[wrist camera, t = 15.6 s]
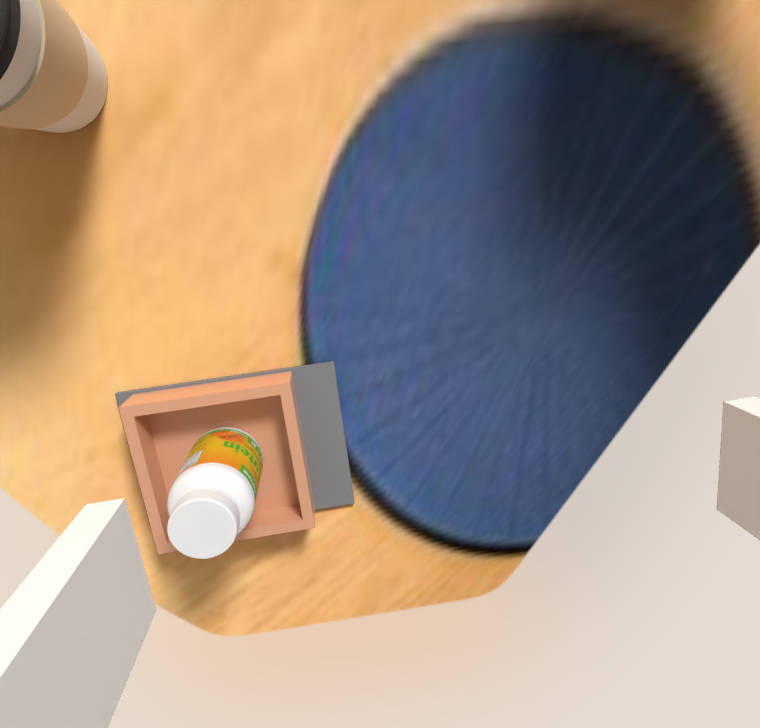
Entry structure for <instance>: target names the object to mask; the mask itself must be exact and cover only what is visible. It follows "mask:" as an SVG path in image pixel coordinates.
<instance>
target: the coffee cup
mask: <svg viewBox="0 0 760 728" xmlns="http://www.w3.org/2000/svg"><path fill="white" fill-rule="evenodd" d="M107 90H108V80H107V73H106V68H105V65H104V62H103V60H102V58H101V55H100V54H99V52H98V50H97V49H96V47H95V46H94V44H93V43H92V42H91V40H90V39H89V38H88V37H87V36H86V35H85V34H84V33H83V32H82V31H81V30H80V28H79V27H78V26H77V25H76V24H75V22H74V21H73V19H72V18H71V16H70V15H69V14H68V12H67V11H66V10H65V9H64V8H63V7H62V6H61V4H60V3H59V2H58V1H57V0H0V126H2V127H9V128H16V129H35V130H40V131H46V132H52V133H67V132H72V131H76V130H79V129H81V128H83V127H85V126H86V125H88V124H89V123H91V122H92V121H93V120H94V119H95V118H96V117H97V116H98V114H99V113H100V111H101V110H102V108H103V105H104V103H105V100H106V96H107Z"/></svg>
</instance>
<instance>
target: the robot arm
mask: <svg viewBox="0 0 760 728" xmlns="http://www.w3.org/2000/svg"><path fill="white" fill-rule="evenodd" d="M717 510H718V511H720V512H721V513H723V514H724V515H725V516H727V517H728V518H730V519H731V520H732V521H734V522H735V523H737V524H738V525H739V526H741V527H742V528H744V529H745V530H746V531H748V532H749V533H751V534H752V535H754V536H755V537H756V538H758V539H759V540H760V398H758V397H755V396H754V397H748V398H742V399H736V400H729V401H724V402H723V417H722V433H721V449H720V466H719V483H718V497H717ZM155 612H156V607H155V604H154V600H153V597H152V593H151V590H150V586H149V583H148V579H147V575H146V572H145V568H144V565H143V561H142V558H141V554H140V551H139V547H138V543H137V540H136V536H135V533H134V529H133V526H132V522H131V518H130V515H129V511H128V508H127V504H126V501H125V498H123V499H117V500H110V501H104V502H98V503H92V504H86V505H85V506H84V508H83V509H82V510H81V511H80V513H79V514H78V515H77V516H76V517H75V519H74V520H73V521H72V522H71V524H70V525H69V526H68V527H67V528H66V530H65V531H64V532H63V533H62V535H61V536H60V537H59V538H58V540H57V541H56V542H55V543H54V544H53V546H52V547H51V548H50V549H49V550H48V552H47V553H46V554H45V555H44V557H43V558H42V559H41V560H40V562H39V563H38V564H37V565H36V566H35V568H34V569H33V570H32V571H31V573H30V574H29V575H28V576H27V577H26V579H25V580H24V581H23V583H22V584H21V585H20V586H19V587H18V589H17V590H16V591H15V592H14V594H13V595H12V596H11V597H10V598H9V599H8V601H7V602H6V603H5V604H4V606H3V607H2V608H1V609H0V728H108V726H109V723H110V721H111V719H112V716H113V714H114V711H115V708H116V706H117V704H118V702H119V699H120V697H121V694H122V692H123V689H124V687H125V684H126V682H127V680H128V677H129V675H130V672H131V670H132V668H133V665H134V663H135V660H136V658H137V655H138V653H139V651H140V648H141V646H142V643H143V641H144V638H145V636H146V633H147V631H148V629H149V626H150V624H151V622H152V619H153V617H154V614H155Z"/></svg>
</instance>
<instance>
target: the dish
mask: <svg viewBox="0 0 760 728" xmlns="http://www.w3.org/2000/svg"><path fill="white" fill-rule="evenodd" d="M119 411H120V415H121V418H122V422H123V426H124V429H125V433H126V437H127V440H128V444H129V448H130V452H131V455H132V459H133V463H134V466H135V470H136V474H137V478H138V481H139V485H140V489H141V492H142V496H143V500H144V504H145V507H146V511H147V515H148V518H149V522H150V526H151V530H152V533H153V537H154V541H155V544H156V548H157V552H158V554H164V553H170V552H176V551H178V550H177V549H176V548H175V547H174V546H173V545H172V543H171V541H170V539H169V537H168V532H167V525H168V520H169V518H170V517H169V513H168V508H167V501H168V496H169V492H170V490H171V487H172V485H173V483H174V481H175V479H176V478H177V476H178V474H179V472H180V470H181V468H182V466H183V464H184V462H185V460H186V459H187V457H188V455H189V453H190V451H191V449H192V447H193V446H194V444H195V443H196V441H197V440H198V439H199V438H200V437H201V436H202V435H204V434H205V433H207V432H209V431H211V430H213V429H216V428H221V427H232V428H237V429H240V430H242V431H245V432H246V433H248V434H249V435H251V436H252V437H253V438H254V439H255V440H256V441H257V443H258V444H259V446H260V448H261V451H262V455H263V467H262V472H261V477H260V482H259V487H258V491H257V496H256V501H255V507H254V511H253V514H252V516H251V519H250V521H249V522H248V524H247V525H246V527H245V528H244V529H243V530H242V531H241V532H240V533H238V534H237V535H236V538H235V540H234V541H240V540H246V539H252V538H258V537H264V536H269V535H275V534H281V533H287V532H293V531H299V530H305V529H310V528H315V504H314V498H313V493H312V487H311V481H310V475H309V469H308V463H307V457H306V452H305V446H304V440H303V434H302V428H301V422H300V416H299V411H298V405H297V399H296V393H295V387H294V381H293V375H292V371H289V372H282V373H275V374H269V375H262V376H255V377H248V378H241V379H234V380H227V381H220V382H214V383H207V384H200V385H193V386H186V387H179V388H172V389H165V390H159V391H152V392H145V393H138V394H133V395H132V396H130V397H129V398H128V399H127V400H126V401H125V402H124V403H123V404H122V405H121V406H120V407H119Z"/></svg>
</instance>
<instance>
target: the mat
mask: <svg viewBox="0 0 760 728" xmlns="http://www.w3.org/2000/svg"><path fill="white" fill-rule="evenodd" d="M289 371H292V375H293V381H294V387H295V393H296V399H297V405H298V411H299V416H300V422H301V428H302V434H303V440H304V446H305V452H306V457H307V463H308V469H309V475H310V481H311V487H312V493H313V498H314V504H315V510H318V509H324V508H330V507H336V506H342V505H348V504H354V503H355V502H354V496H353V489H352V482H351V475H350V468H349V462H348V455H347V448H346V441H345V435H344V428H343V421H342V414H341V407H340V401H339V394H338V387H337V380H336V373H335V367H334V361H331V362H324V363H317V364H310V365H303V366H296V367H289V368H282V369H275V370H269V371H262V372H255V373H248V374H241V375H234V376H227V377H220V378H213V379H206V380H200V381H193V382H186V383H179V384H172V385H165V386H158V387H151V388H144V389H137V390H130V391H124V392H117V393H116V394H115V395H116V398H117V402H118V406H119V407H120V406H121V405H122V404H123V403H124V402H125V401H126V400H127V399H128V398H129V397H130V396H132V395H133V394H138V393H145V392H152V391H159V390H165V389H172V388H179V387H186V386H193V385H200V384H207V383H214V382H220V381H227V380H234V379H241V378H248V377H255V376H262V375H269V374H275V373H282V372H289Z"/></svg>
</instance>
